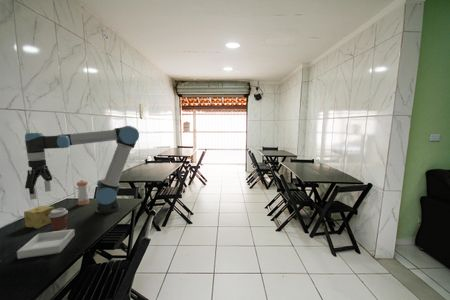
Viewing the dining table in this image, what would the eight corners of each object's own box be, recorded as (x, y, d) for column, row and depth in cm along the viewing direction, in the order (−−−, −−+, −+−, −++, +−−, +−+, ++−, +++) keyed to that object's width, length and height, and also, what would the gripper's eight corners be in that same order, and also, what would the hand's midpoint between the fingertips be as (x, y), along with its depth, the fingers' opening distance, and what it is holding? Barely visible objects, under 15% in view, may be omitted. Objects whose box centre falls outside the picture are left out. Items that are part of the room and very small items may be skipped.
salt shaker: (84, 201, 164) (82, 178, 162) (91, 202, 162) (89, 179, 160) (75, 204, 157) (73, 180, 155) (82, 205, 155) (80, 181, 153)
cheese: (38, 229, 120) (36, 213, 119) (24, 227, 122) (22, 211, 121) (55, 221, 130) (54, 206, 129) (42, 219, 133) (41, 205, 131)
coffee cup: (56, 234, 114) (54, 214, 113) (46, 231, 117) (44, 212, 116) (73, 227, 123) (71, 208, 121) (63, 224, 126) (61, 206, 124)
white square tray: (74, 235, 114) (74, 229, 113) (59, 252, 98) (59, 246, 98) (39, 239, 109) (38, 233, 109) (17, 258, 93) (16, 251, 93)
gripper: (42, 156, 127) (46, 188, 129) (12, 164, 103) (17, 203, 106) (56, 156, 129) (60, 187, 131) (29, 163, 105) (35, 202, 107)
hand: (41, 195), depth 118 cm, fingers open, 13 cm apart
